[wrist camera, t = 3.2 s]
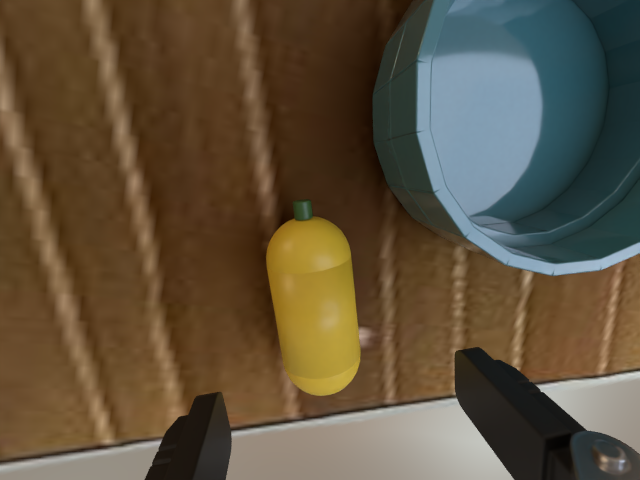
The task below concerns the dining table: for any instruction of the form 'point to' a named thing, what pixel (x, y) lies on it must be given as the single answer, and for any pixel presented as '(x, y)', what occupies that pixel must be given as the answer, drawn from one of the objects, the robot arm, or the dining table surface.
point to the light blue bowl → (517, 128)
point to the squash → (314, 302)
